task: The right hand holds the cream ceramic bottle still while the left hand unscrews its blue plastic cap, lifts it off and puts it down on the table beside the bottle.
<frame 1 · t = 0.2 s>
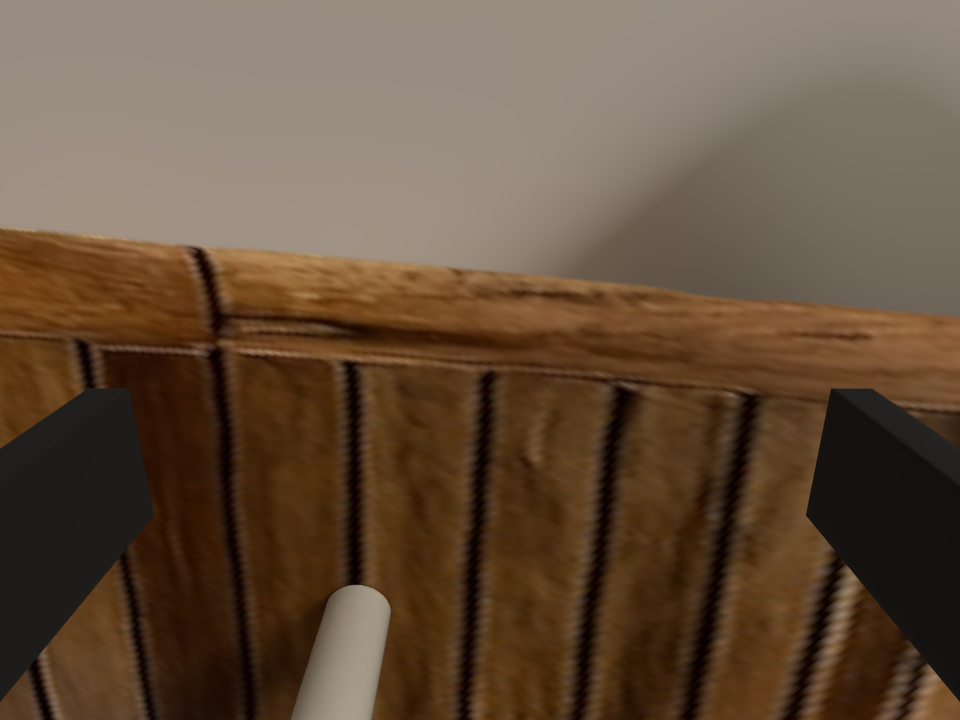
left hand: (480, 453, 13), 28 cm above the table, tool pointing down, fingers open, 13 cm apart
bottle: (358, 611, 48), on the table
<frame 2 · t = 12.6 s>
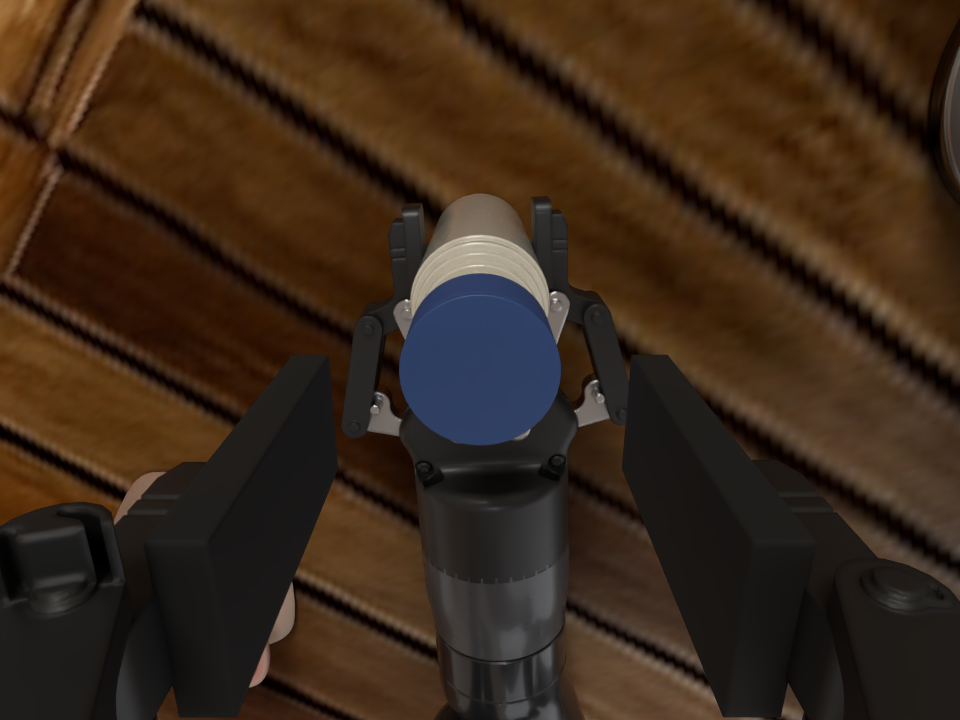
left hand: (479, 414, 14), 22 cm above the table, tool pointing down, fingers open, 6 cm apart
right hand: (475, 203, 28), fingers closed on bottle, 5 cm apart
anatomical model: (205, 562, 42), on the table
cap: (480, 369, 17), point 19 cm above the table, screwed on, not yet turned
bottle: (479, 239, 35), on the table, touching right hand
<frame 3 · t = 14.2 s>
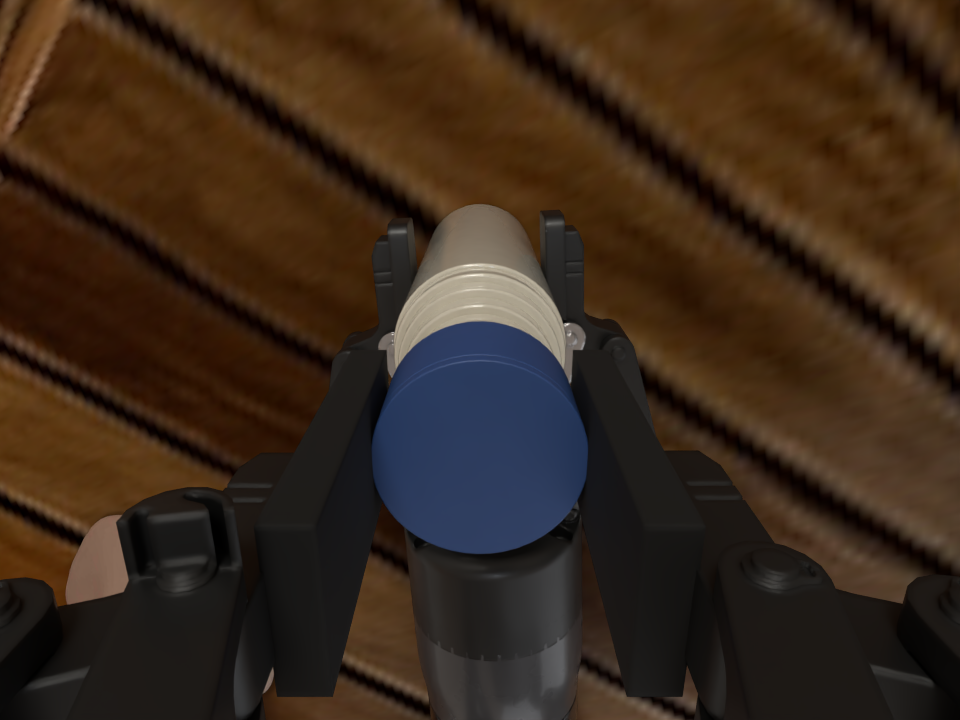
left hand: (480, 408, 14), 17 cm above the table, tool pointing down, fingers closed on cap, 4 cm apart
anatomical model: (174, 613, 38), on the table
cap: (479, 455, 12), point 19 cm above the table, screwed on, not yet turned, touching left hand
bottle: (480, 256, 31), on the table, touching right hand
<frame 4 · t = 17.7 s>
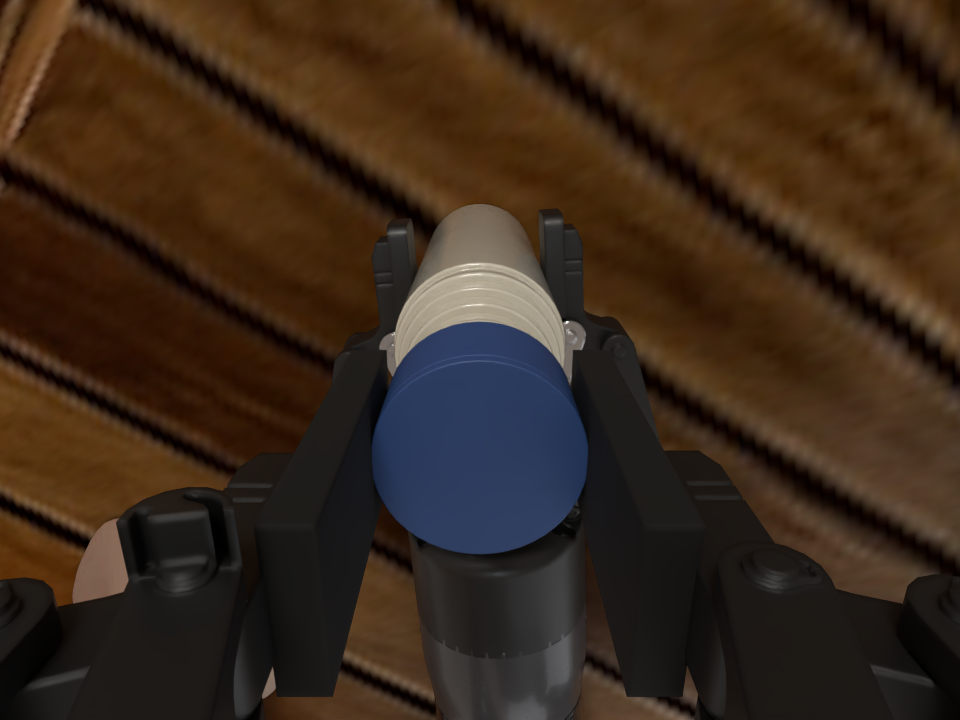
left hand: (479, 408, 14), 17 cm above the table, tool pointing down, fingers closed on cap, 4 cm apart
anatomical model: (180, 615, 38), on the table
cap: (479, 455, 12), point 19 cm above the table, turned 121° so far, risen 0.1 cm, still on its thread, touching left hand
bottle: (479, 256, 31), on the table, touching right hand
when the left hand's fingers open (1 cm above the table, at t = 31.8 s): cap drops 1 cm, point 2 cm above the table.
when the right hand's fingers open (6 cm above the table, at t = 33.1 s): bottle stays where it is, on the table.
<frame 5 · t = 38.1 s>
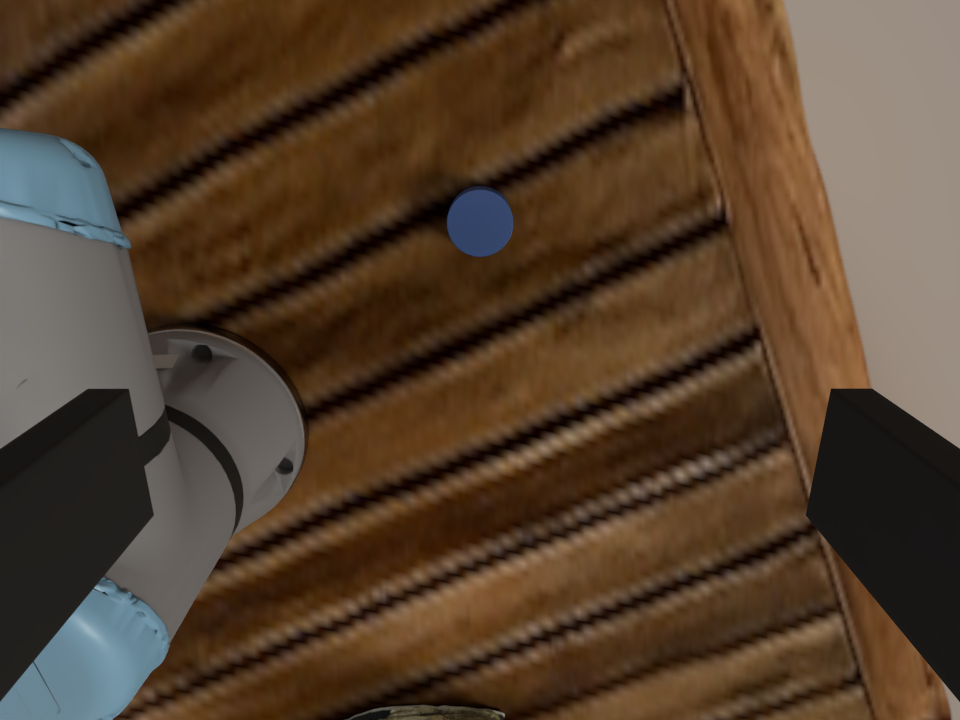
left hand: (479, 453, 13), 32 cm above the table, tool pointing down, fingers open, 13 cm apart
cap: (480, 223, 40), point 2 cm above the table, off its thread
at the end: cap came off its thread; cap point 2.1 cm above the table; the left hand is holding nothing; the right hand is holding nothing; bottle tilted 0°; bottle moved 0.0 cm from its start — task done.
